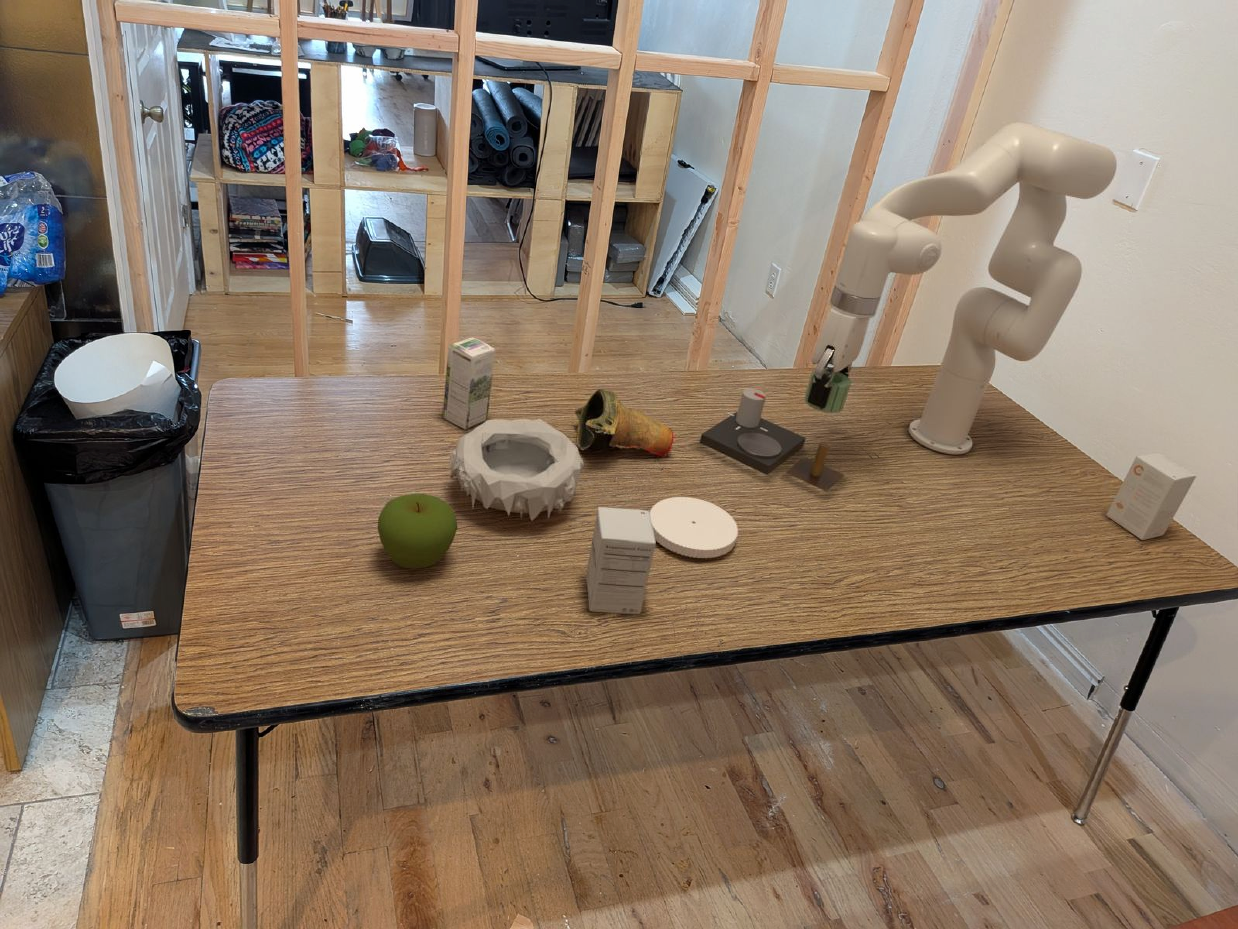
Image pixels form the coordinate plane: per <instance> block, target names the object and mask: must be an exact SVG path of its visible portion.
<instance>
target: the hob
mask: <svg viewBox="0 0 1238 929" xmlns="http://www.w3.org/2000/svg"><path fill="white" fill-rule="evenodd" d="M737 412H738V410H737V411H736V412H735V413H733V414H732V413H731V412H726V414H727V415H729V416H728V417H726V418H724V419H723V420H722V421H720V422H718V423H717V424H715V425H713V426H712V427H711V428H709V429H708V430H706V431H704V432H702V433H701V435H700V439H699V444H702V445H703V446H705V447H707V448H709V449H712V450H714V451H716V452H718V453H719V454H722V455H724V456H726V457H728V458H731V459H733V460H735V461H737V462H739V463H740V464H743V465H745V466H747V467H749V468H751V469H754V470H755V471H758V472H760V473H762V474H764V475H766V476H767V475H769V474H770V473H772V472H773V471H774V470H775V469H777V468H778V467H779V466H780V465H781V464H783V463H784V462H785V461H787V460H788V459H789V458H791V457H792V456H793V455H794V454H796V453H797V452H798V451H800V450H801V449H803V447H805V446H804V445H805V442H806V439H807V438H806V437H805V436H803V435H801V434H798V433H796V432H794V431H791V430H789V429H787V428H784V427H783V426H781V425H778V424H776V423H774V422H772V421H769V420H767V419H764V418H762V417H761V418H760V422H759V425H758V426H757V427H755V428H747V427H744V426H741V425H739V424H738V423H737V422H736V416H737ZM745 433H759V434H763V435H766V436H769V437H771V438H773V439H774V440H776V441H777V442H778V443H779V444H780V445H781V453H780V455H779V456H777V457H775V458H770V459H764V458H758V457H754V456H751V455H749V454H747V453H745V452H743V451H742V450H741V449H740V448H739V447H738V445H737V440H738V437H739V436H740V435H742V434H745Z"/></svg>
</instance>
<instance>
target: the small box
mask: <svg viewBox="0 0 1238 929" xmlns="http://www.w3.org/2000/svg"><path fill="white" fill-rule="evenodd" d="M1196 478H1197V475H1196V474H1194V473H1193V472H1190V471H1189V470H1187V469H1186V468H1184V467H1182V466H1181V465H1179V464H1178V463H1175V462H1174V461H1172V460H1171V459H1169V458H1168V457H1166V456H1164V455H1162V454H1161V453H1159V452H1155V453H1149V454H1148V453H1147V454H1142V455H1136V456H1135V459H1134V460H1133V461H1132V464H1131V466H1130V468H1129V470H1128V472H1127V473H1126V476H1125V478H1124V479H1123V482H1122V483H1121V485H1120V487H1119V489H1118V491H1117V493H1116V495H1115V497H1114V498H1113V500H1112V502H1111V504H1110V507H1109V508H1108V510H1107V512H1106V514H1105V516H1106V517H1107V518H1109V519H1110V520H1111V521H1113V522H1114V523H1116V524H1117V525H1119V526H1121V527H1122V528H1123V529H1125V530H1126V531H1128V532H1129V533H1131V534H1132V535H1134V536H1135V537H1137V538H1138V539H1139V540H1141V541H1144V540H1148V539H1153V538H1157V537H1161V536H1164V535H1165V533H1166V532H1167V530H1168V528H1169V527H1170V524H1171V523H1172V522H1173V519H1174V518H1175V516H1176V514H1177V512H1178V510H1179V508H1180V507H1181V504H1182V503H1183V501H1184V500H1185V498H1186V496H1187V494H1188V492H1189V490H1190V489H1191V487H1192V485H1193V483H1194V482H1195V479H1196Z"/></svg>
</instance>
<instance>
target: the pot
mask: <svg viewBox="0 0 1238 929" xmlns="http://www.w3.org/2000/svg"><path fill="white" fill-rule="evenodd" d="M573 413H574V414H575V416H576V418H577V420H578V427H577V430H576V431H577V434H576V435H577V436H576V439H577V440H576V444H577V446H578V448H579V449H580V450H583V451H584V450H587V451H589V452H592V453H597V452H602V451H606V450H607V451H608V450H616V449H618V448H619V449H633V448H635V449H637V450H641V449H643V450H645V451H648V452H650V453H651V454H654V455H657V456H661V458H663V459H664V457H665V456H666V455H668V454H669V453H670V452H671V449H672V446H673V443H674V437H675V435H674V431H673V429H671V427H670V428H669V427H667V426H666V425H665V424H663V423H662V422H660V421H659V420H657V419H654V418H653V417H651V416H650V415H648V414H645V413H644V412H641V411H639V410H635V409H633V408H630V407H627V406H626V405H624V404H623V403H622V402H621V401H620V400H619V397H618V394H617V393H616V392H615V391H611V390H605V389H601V388H599V389H598V388H597V390H596V391H594V393H592V395H591V396H590V398H588V400H587V402H586V404H585V405H583V406H582V407H579V408H578V409H576V410H574V411H573Z"/></svg>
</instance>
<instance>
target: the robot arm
mask: <svg viewBox="0 0 1238 929" xmlns="http://www.w3.org/2000/svg"><path fill="white" fill-rule="evenodd" d="M1117 166H1118V164H1117V158H1116V155H1115V153H1114V151H1112V150H1111V149H1110V148H1109V147H1106V146H1103V145H1099V144H1097V143H1094V142H1090V141H1087V140H1084V139H1080V138H1077V137H1074V136H1072V135H1069V134H1066V133H1062V132H1059V131H1055V130H1051V129H1047V128H1045V127H1041V126H1038V125H1035V124H1032V123H1027V122H1020V121H1016V122H1011V123H1009V124H1006V125H1005V126H1003V127H1002V128H1000V129H999V130H998V131H996V132H995V133H994V134H993V135H991V137H989V138H988V139H987V140H985V141H984V143H982V144H981V145H980V146H978V147H977V148H976V149H975V150H974V151H972V152H971V153H970V154H969V155H967V156H966V157H965V158H964V159H963V160H961V162H959V163H958V164H957V165H956V166H954V167H953V168H952V169H950V170H949V171H945V172H940V173H937V174H932V175H928V176H925V177H922V178H919V179H915V180H912V181H909V182H906V183H904V184H901V185H899V186H897V187H895V188H894V189H892V190H890V191H889V192H888V193H886V194H885V195H884V196H883V197H881V198H880V199H879V200H878V201H877V202H875V203H874V204H873V205H872V206H871V207H870V208H869V209H868V210H867V211H866V212H865V213H864V214H863V215H862V216H861V218H860V220H858V221H856V222H855V223H853V225H852V226H851V228H850V230H849V233H848V238H847V241H846V244H845V247H844V251H843V255H842V258H841V262H840V265H839V269H838V272H837V276H836V279H835V283H834V286H833V289H832V293H831V296H830V299H829V303H828V305H829V307H830V309H829V311H828V313H827V316H826V318H825V320H824V322H823V325H822V328H821V330H820V333H819V335H818V339H817V342H816V345H815V347H814V350H813V354H812V356H811V363H812V365H816V366H815V368H814V370H813V371H814V372H815V374H814V378H813V383H812V386H811V390H810V393H809V397H808V400H807V401H808V403H810V404H813V405H815V406H817V407H820V408H822V409H824V408H825V407H826V405H827V401H828V398H829V395H830V392H831V388H832V387H830V385H831V382H832V380H833V378H834V376H835V373H836V372H840V373H843V375H846V376H847V377H848V378H850V377H849V376H850V373H851V370H852V365H853V362H854V361H856V359H858V357H859V354H860V352H861V350H862V347H863V345H864V344H863V343H864V342H865V337H866V334H867V330H868V328H869V327H868V326H869V323H870V319H871V318H874V317H875V316H876V314H877V311H878V308H879V306H880V305H879V304H880V301H881V298H882V296H883V293H884V289H885V286H886V282H887V280H888V276H889V275H890V274H891V273H895V274H902V275H908V276H909V275H910V276H913V275H914V276H915V275H920V274H924V273H926V272H928V271H930V269H933V267H934V266H935V265H936V264H937V263H938V261H939V259H940V257H941V254H942V242H941V240H940V238H939V237H938V235H937V234H936V233H935V232H934V231H933V230H931V229H929V228H928V227H925V226H923V225H921V224H919V223H916V222H914V221H913V220H917V219H919V218H925V217H931V216H940V217H941V216H943V217H945V216H946V217H951V216H952V217H960V216H962V217H963V216H975V215H978V214H981V213H983V212H984V211H986V210H987V209H988V208H989V207H990V206H991V205H993V204H994V203H995V202H996V201H998V200H999V199H1000V198H1001V197H1002V196H1003V195H1004V194H1006V193H1007V192H1008V191H1009V190H1011V189H1012V188H1013V187H1014V186H1015V185H1016V184H1018V187H1019V192H1018V200H1017V202H1016V206H1015V208H1014V211H1013V213H1012V214H1011V217H1010V219H1009V221H1008V223H1007V224H1006V227H1005V228H1004V231H1003V232H1002V235H1001V237H1000V238H999V240H998V243H997V244H996V246H995V249H994V251H993V253H992V255H991V257H990V259H989V262H988V267H987V270H988V275H989V276H990V277H991V279H993V280H994V281H995V282H997V283H999V284H1000V285H1003V286H1005V287H1006V288H1008V289H1011V290H1012V291H1015V292H1017V293H1020V294H1022V295H1024V296H1026V297H1028V298H1030V301H1029V303H1028V304H1026V303H1024V302H1022V301H1019V300H1018V299H1016V298H1014V297H1012V296H1010V295H1008V294H1006V293H1003V292H1001V291H999V290H997V289H994V288H990V287H987V286H986V287H985V286H977V287H973V288H970V289H968V290H967V291H966V292H964V294H962V296H960V298H959V300H958V302H957V304H956V306H955V310H954V315H953V319H952V320H953V321H952V328H951V333H950V337H949V340H948V343H947V347H946V350H945V352H944V355H943V358H942V360H941V362H940V365H939V369H938V371H937V374H936V376H935V379H934V382H933V385H932V387H931V389H930V393H929V395H928V398H927V401H926V404H925V406H924V409H923V412H922V414H921V417H920V418H918V419H915V420H913V421H911V422H910V424H909V427H908V433H909V435H910V437H911V438H912V439H913V440H914V441H915V442H917V443H918V444H920V445H922V446H924V447H925V448H927V449H930V450H932V451H934V452H937V453H942V454H947V455H964V454H967V453H969V452H970V451H971V449H972V447H973V440H972V438H971V437H970V436H969V433H970V430H971V428H972V425H973V423H974V421H975V418H976V415H977V413H978V411H979V408H980V406H981V403H982V402H983V398H984V396H985V393H986V390H987V388H988V386H989V383H990V382H991V379H992V377H993V374H994V371H995V368H996V361H997V360H996V358H997V356H996V351H997V352H999V353H1001V354H1002V355H1005V356H1006V357H1009V358H1010V359H1013V360H1015V361H1018V362H1028V361H1031V360H1033V359H1035V358H1036V357H1037V356H1038V355H1039V354H1040V353H1041V352H1042V351H1043V349H1044V348H1045V347H1046V345H1047V343H1048V342H1049V340H1050V339H1051V337H1052V335H1053V334H1054V332H1055V331H1056V330H1055V329H1056V328H1057V326H1058V324H1059V322H1060V320H1061V319H1062V317H1063V315H1064V314H1065V312H1066V310H1067V308H1068V306H1069V304H1070V302H1071V300H1072V299H1073V297H1074V295H1075V294H1076V291H1077V289H1078V287H1079V285H1080V283H1081V279H1082V272H1083V267H1082V263H1081V260H1080V259H1079V258H1078V257H1077V256H1076V255H1075V254H1073V253H1072V252H1070V251H1068V250H1065V249H1063V248H1060V247H1057V246H1055V244H1054V243H1055V240H1056V238H1057V237H1058V235H1059V232H1060V230H1061V228H1062V227H1063V224H1064V222H1065V220H1066V218H1067V217H1066V216H1067V208H1068V206H1067V197H1070V198H1076V199H1081V200H1089V199H1092V198H1095V197H1097V196H1099V195H1100V194H1102V193H1103V192H1105V190H1106V189H1107V188H1108V187H1109V186H1110V185H1111V184H1112V181H1113V180H1114V178H1115V175H1116V172H1117ZM829 365H831V366H833V367H830V366H829ZM825 370H826V371H829V372H830V375H829V377H828V379H827V375H826V374H825Z"/></svg>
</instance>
